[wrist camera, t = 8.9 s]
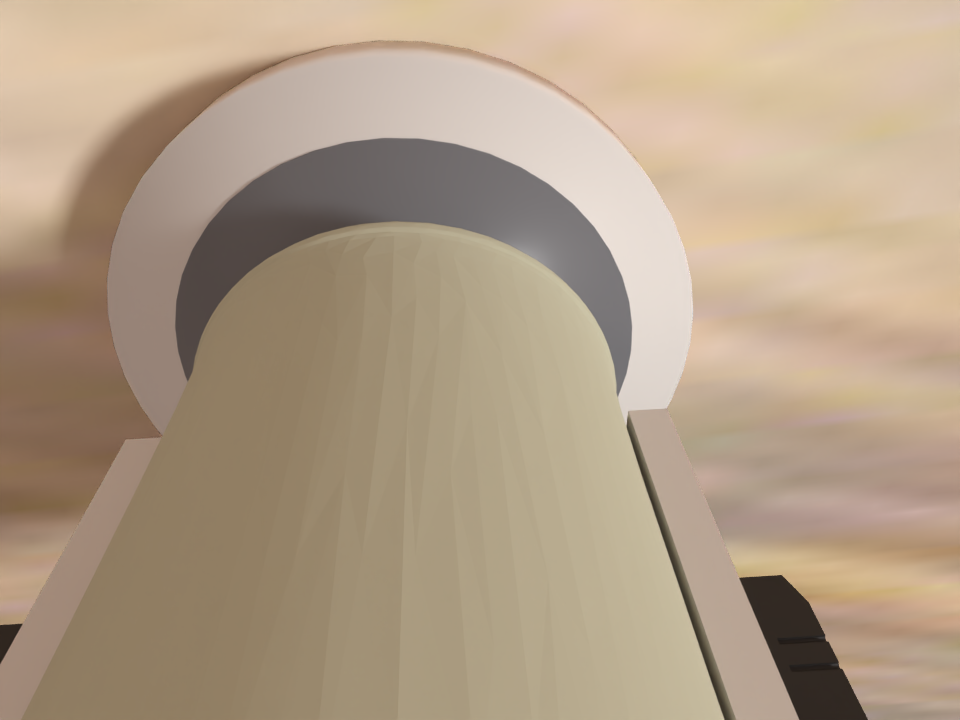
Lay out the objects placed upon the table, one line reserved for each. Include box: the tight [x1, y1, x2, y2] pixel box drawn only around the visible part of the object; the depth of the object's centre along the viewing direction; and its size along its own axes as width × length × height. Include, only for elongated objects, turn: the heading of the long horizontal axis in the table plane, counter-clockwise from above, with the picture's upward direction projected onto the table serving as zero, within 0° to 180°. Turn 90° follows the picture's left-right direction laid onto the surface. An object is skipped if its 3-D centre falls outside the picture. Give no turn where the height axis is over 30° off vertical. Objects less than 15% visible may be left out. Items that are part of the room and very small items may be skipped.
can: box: [21, 221, 724, 720], centre depth 10 cm, size 9×9×12 cm
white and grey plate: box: [107, 41, 693, 436], centre depth 17 cm, size 14×14×2 cm
